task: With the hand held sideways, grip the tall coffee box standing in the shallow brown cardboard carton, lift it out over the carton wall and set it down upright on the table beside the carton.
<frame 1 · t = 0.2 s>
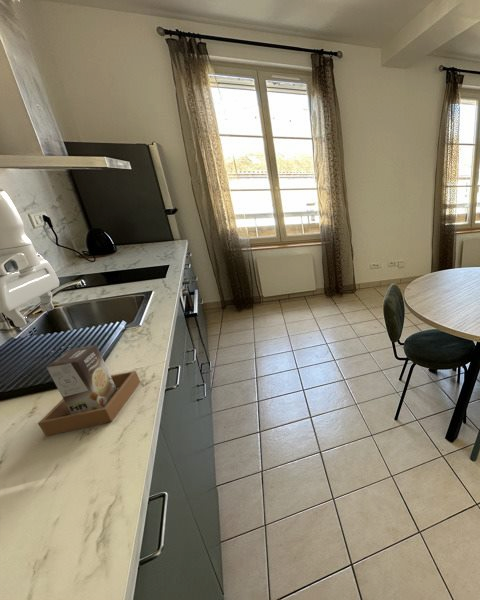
hand: (36, 317, 77), 27 cm above the worktop, tool pointing down, fingers open, 8 cm apart
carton: (98, 406, 88), on the worktop
coffee box: (98, 406, 88), resting in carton
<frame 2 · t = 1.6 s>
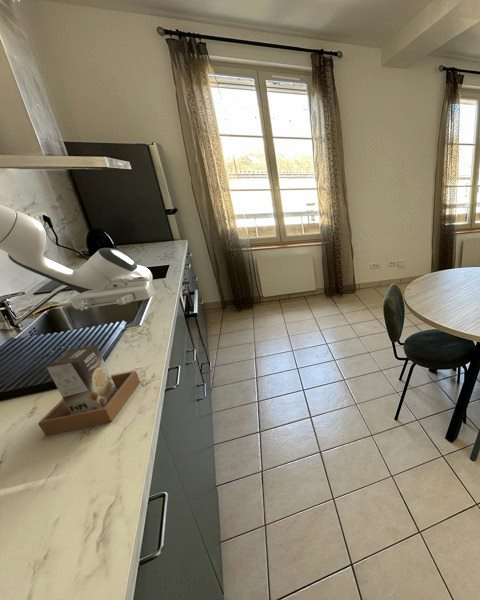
hand: (101, 305, 97), 22 cm above the worktop, tool horizontal, fingers open, 8 cm apart
nothing on the worktop moved.
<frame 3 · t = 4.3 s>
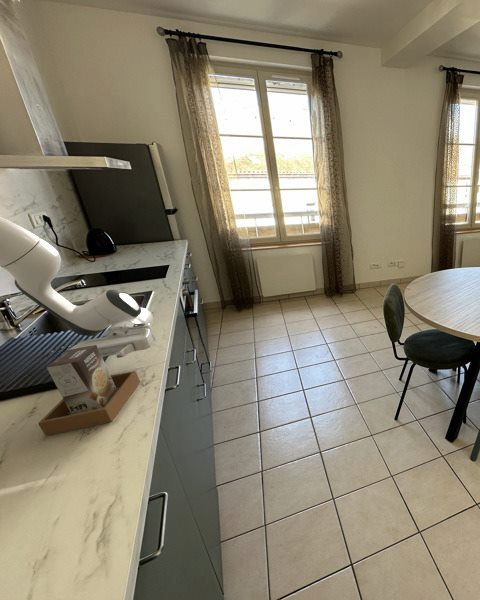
hand: (100, 358, 92), 10 cm above the worktop, tool horizontal, fingers open, 8 cm apart
nothing on the worktop moved.
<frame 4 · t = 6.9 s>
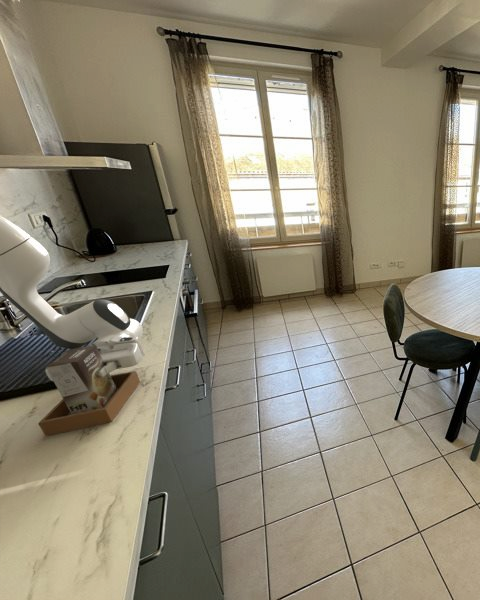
hand: (81, 378, 84), 10 cm above the worktop, tool horizontal, fingers closed on coffee box, 6 cm apart
coffee box: (98, 406, 88), resting in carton, touching gripper
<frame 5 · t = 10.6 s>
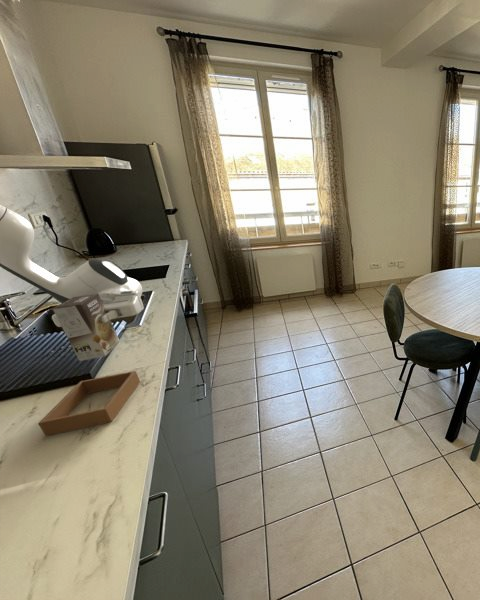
hand: (85, 322, 90), 20 cm above the worktop, tool horizontal, fingers closed on coffee box, 6 cm apart
coffee box: (101, 351, 95), point 10 cm above the worktop, touching gripper
when the fingers open (10 cm above the worktop, at t = 14.8 s): coffee box stays where it is, on the worktop.
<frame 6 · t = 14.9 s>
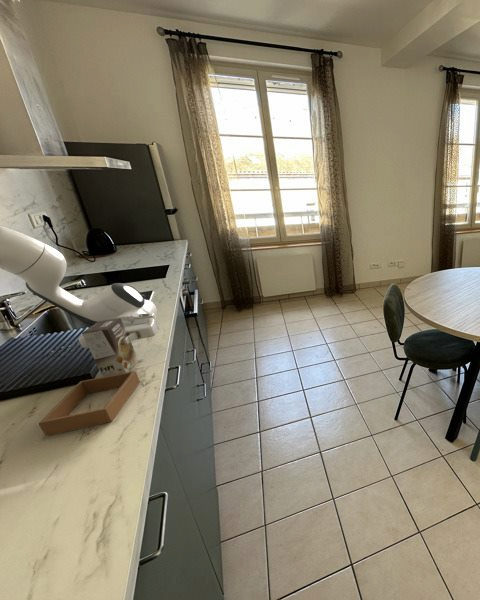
hand: (108, 345, 100), 10 cm above the worktop, tool horizontal, fingers open, 6 cm apart
coffee box: (122, 370, 105), on the worktop
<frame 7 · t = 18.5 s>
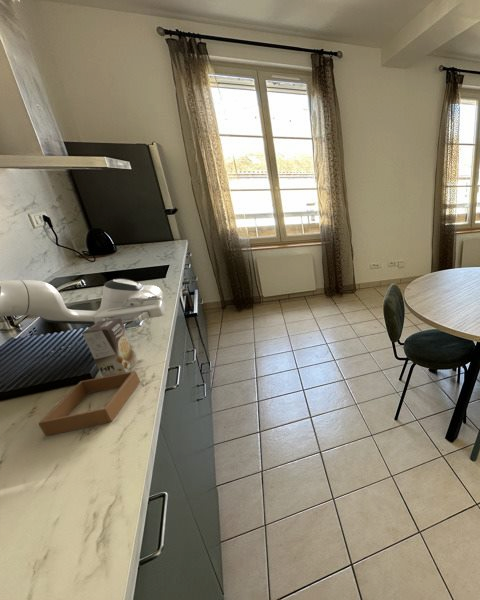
hand: (121, 322, 109), 12 cm above the worktop, tool horizontal, fingers open, 8 cm apart
nothing on the worktop moved.
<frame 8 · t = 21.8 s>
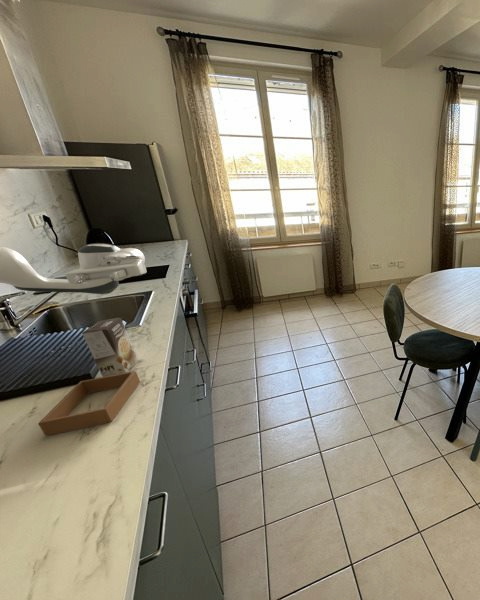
hand: (95, 279, 102), 28 cm above the worktop, tool horizontal, fingers open, 8 cm apart
nothing on the worktop moved.
at the end: coffee box inside the target area (0.1 cm from its centre), on the worktop; coffee box tilted 0°; the gripper is holding nothing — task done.
